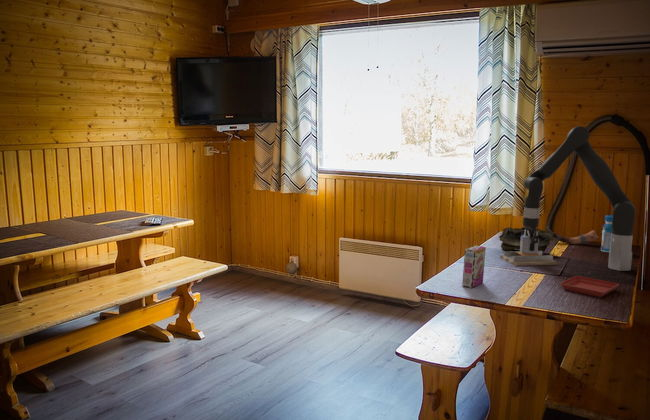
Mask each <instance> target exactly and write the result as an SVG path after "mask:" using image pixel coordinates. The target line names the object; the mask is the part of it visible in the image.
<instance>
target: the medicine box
mask: <svg viewBox="0 0 650 420" xmlns="http://www.w3.org/2000/svg"><path fill="white" fill-rule="evenodd" d="M535 240H536V239H535ZM538 241H539V239H538ZM519 251H520V252H521V253H522V254H538V243H535V247H534V251H530V239H529V237H528V236H521V241H520V249H519Z"/></svg>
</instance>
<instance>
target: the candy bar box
mask: <svg viewBox="0 0 650 420" xmlns="http://www.w3.org/2000/svg"><path fill="white" fill-rule="evenodd" d="M463 258H464V259H463V270H462V271H463V272H462V285H461V286H462V287H465V288H469V289H473V288H476V287H478V286H480V285H481V284H483V283H484V274H485V273H484V272H485V260H486V259H485V258H486V246H480V245H474V246H470V247H468V248H465V249H464V257H463Z"/></svg>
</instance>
